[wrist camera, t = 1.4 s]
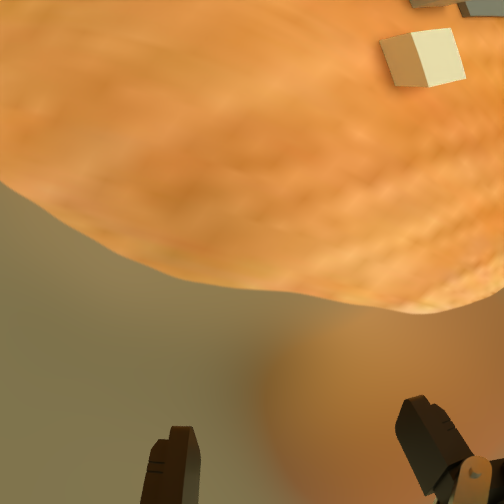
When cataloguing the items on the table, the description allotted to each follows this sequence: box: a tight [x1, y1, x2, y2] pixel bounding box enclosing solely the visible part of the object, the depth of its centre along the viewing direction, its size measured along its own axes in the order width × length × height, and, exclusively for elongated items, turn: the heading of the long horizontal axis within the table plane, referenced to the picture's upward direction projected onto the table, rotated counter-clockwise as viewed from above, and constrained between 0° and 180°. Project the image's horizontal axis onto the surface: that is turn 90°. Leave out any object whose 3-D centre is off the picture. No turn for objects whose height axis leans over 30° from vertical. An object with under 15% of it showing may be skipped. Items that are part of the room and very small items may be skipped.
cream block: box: [379, 28, 466, 87], centre depth 22 cm, size 5×5×6 cm
